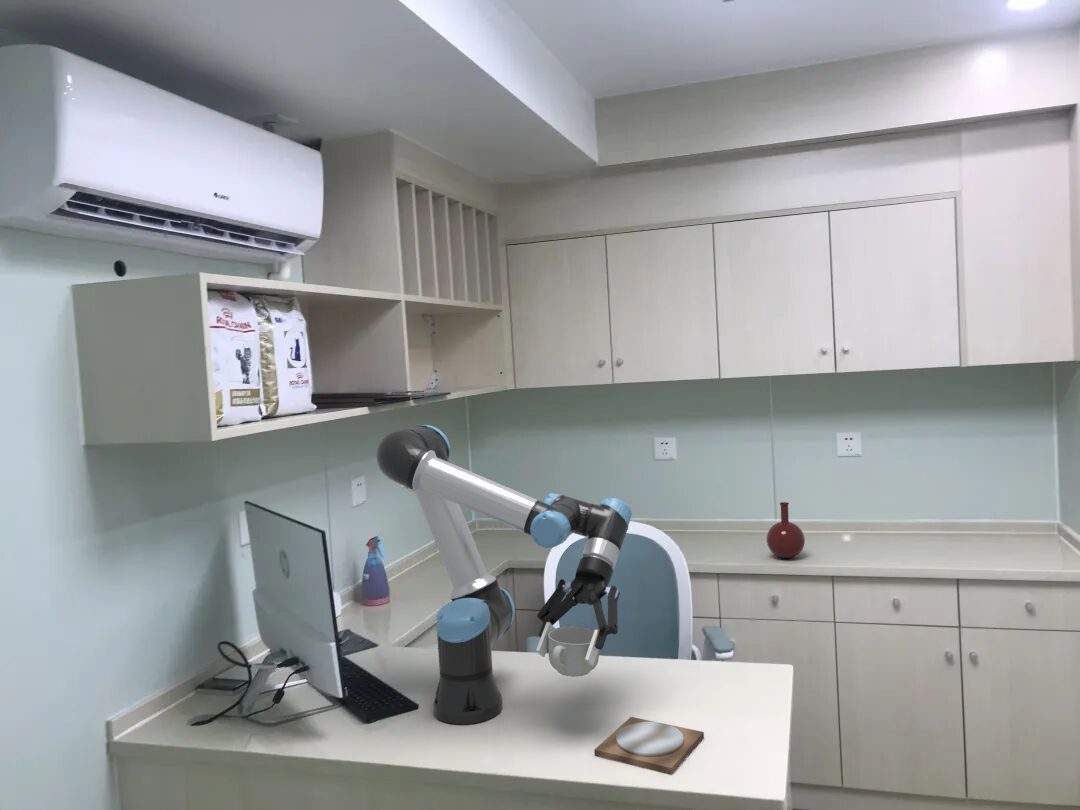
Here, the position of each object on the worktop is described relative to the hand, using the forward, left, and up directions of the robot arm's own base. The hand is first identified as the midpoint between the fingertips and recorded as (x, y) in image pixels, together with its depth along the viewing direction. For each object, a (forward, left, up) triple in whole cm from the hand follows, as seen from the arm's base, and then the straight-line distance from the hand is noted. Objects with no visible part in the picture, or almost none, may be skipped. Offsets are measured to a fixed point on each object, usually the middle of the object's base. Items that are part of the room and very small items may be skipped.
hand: (564, 658), depth 168 cm
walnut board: (+17, +3, -16) cm, 23 cm away
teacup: (0, +3, -4) cm, 5 cm away
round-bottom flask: (+1, +154, -16) cm, 155 cm away
